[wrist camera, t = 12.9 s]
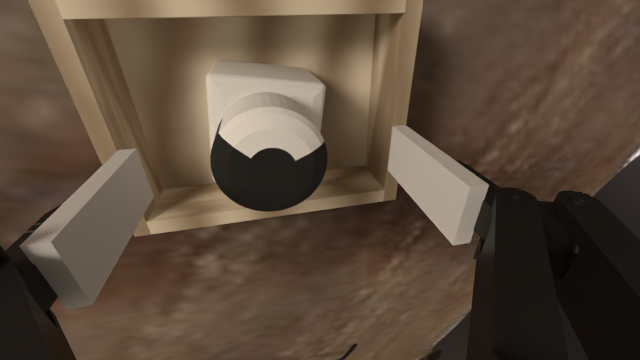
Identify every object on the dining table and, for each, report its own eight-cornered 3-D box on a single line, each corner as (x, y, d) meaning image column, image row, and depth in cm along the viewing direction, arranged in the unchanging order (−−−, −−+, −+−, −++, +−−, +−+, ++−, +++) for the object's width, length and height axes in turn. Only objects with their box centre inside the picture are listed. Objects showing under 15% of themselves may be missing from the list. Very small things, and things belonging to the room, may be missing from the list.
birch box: (386, -4, 23) (424, -10, 18) (371, 170, 31) (395, 199, 26) (83, -1, 19) (24, -8, 14) (156, 196, 27) (134, 236, 22)
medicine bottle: (300, 147, 27) (331, 225, 17) (221, 144, 25) (201, 230, 15) (307, 67, 23) (352, 104, 13) (217, 58, 22) (188, 92, 12)
